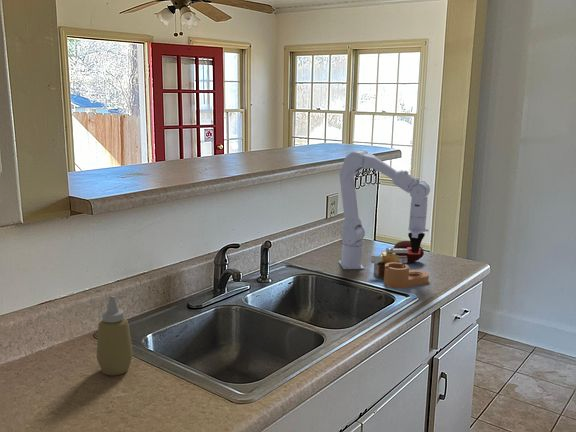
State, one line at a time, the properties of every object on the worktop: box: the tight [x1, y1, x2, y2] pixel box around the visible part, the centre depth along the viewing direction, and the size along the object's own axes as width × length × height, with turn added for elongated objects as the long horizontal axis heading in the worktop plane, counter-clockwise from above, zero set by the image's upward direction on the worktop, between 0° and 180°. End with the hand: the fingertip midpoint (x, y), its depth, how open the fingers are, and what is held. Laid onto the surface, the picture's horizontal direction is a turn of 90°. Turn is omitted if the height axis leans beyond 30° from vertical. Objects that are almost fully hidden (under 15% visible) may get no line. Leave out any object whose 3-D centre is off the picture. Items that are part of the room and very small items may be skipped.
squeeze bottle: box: [96, 295, 134, 376], centre depth 125 cm, size 8×8×18 cm
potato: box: [393, 240, 425, 264], centre depth 218 cm, size 12×11×8 cm
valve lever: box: [385, 247, 421, 254], centre depth 199 cm, size 12×2×2 cm, turn 96°
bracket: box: [383, 262, 430, 289], centre depth 193 cm, size 18×8×7 cm, turn 121°
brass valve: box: [370, 251, 407, 279], centre depth 200 cm, size 6×13×8 cm, turn 97°
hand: (415, 252), depth 198 cm, fingers closed, pressing on valve lever
